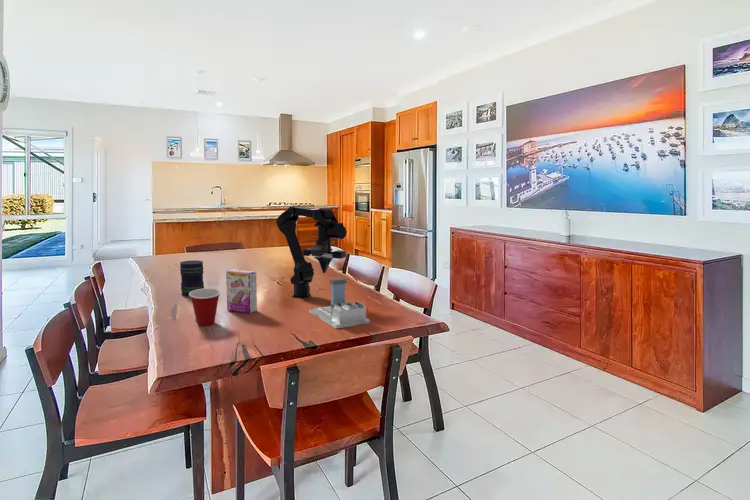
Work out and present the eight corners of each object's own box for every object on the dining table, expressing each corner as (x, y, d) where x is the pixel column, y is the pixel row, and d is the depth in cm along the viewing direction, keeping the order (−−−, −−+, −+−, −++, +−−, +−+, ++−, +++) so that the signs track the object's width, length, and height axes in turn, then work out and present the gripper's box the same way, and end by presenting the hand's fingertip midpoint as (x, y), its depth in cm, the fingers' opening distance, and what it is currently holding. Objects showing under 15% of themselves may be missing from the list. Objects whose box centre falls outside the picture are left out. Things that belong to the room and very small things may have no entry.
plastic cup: (191, 330, 152) (190, 296, 150) (188, 321, 161) (187, 289, 159) (224, 326, 157) (223, 293, 155) (219, 318, 166) (218, 287, 164)
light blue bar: (329, 313, 170) (329, 279, 168) (342, 311, 172) (342, 277, 171) (338, 318, 163) (338, 282, 161) (351, 316, 166) (352, 281, 164)
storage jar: (208, 293, 203) (207, 261, 201) (190, 297, 195) (188, 264, 193) (195, 290, 208) (194, 259, 206) (176, 294, 200) (175, 262, 198)
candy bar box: (226, 311, 175) (225, 271, 173) (234, 307, 180) (233, 268, 178) (250, 314, 172) (249, 273, 169) (257, 310, 176) (256, 271, 174)
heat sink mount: (309, 312, 176) (309, 294, 175) (340, 307, 183) (340, 290, 182) (335, 328, 156) (335, 308, 155) (369, 323, 163) (369, 303, 162)
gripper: (295, 237, 184) (296, 274, 187) (335, 240, 178) (335, 278, 180) (309, 235, 195) (309, 269, 197) (347, 237, 188) (346, 273, 190)
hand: (324, 272), depth 191 cm, fingers closed
